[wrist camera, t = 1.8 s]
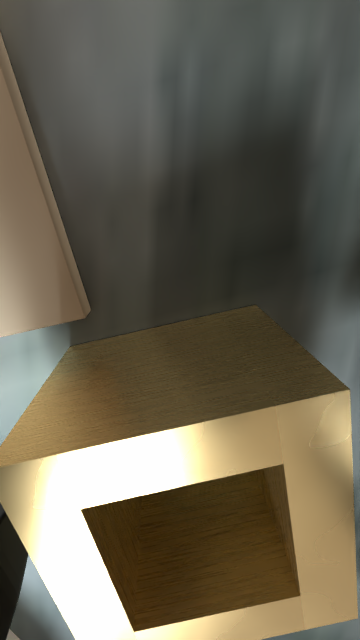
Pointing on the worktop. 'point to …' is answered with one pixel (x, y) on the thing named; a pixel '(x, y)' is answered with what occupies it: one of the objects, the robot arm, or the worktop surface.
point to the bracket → (11, 636)
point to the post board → (30, 228)
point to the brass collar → (188, 484)
